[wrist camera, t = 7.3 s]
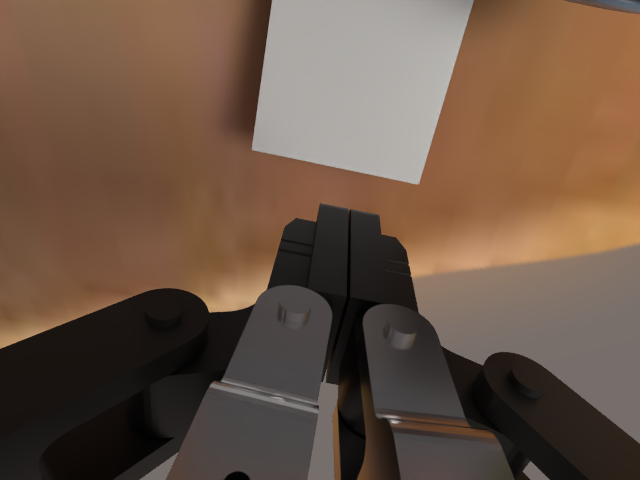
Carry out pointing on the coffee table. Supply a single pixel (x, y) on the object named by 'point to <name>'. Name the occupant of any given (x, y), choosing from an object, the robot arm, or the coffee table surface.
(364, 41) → the door
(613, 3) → the camera body
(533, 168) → the coffee table surface
